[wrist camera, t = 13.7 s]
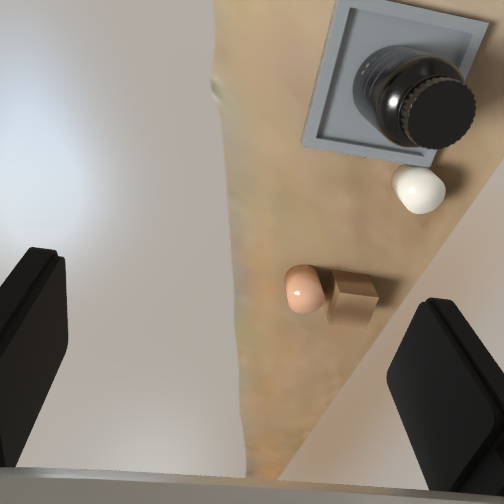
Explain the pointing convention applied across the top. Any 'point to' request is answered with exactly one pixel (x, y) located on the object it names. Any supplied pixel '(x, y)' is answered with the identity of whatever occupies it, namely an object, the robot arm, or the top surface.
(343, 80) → the tray
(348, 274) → the walnut block
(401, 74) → the supplement bottle
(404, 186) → the white egg
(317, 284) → the peach rounded dome
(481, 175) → the top surface
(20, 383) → the robot arm
